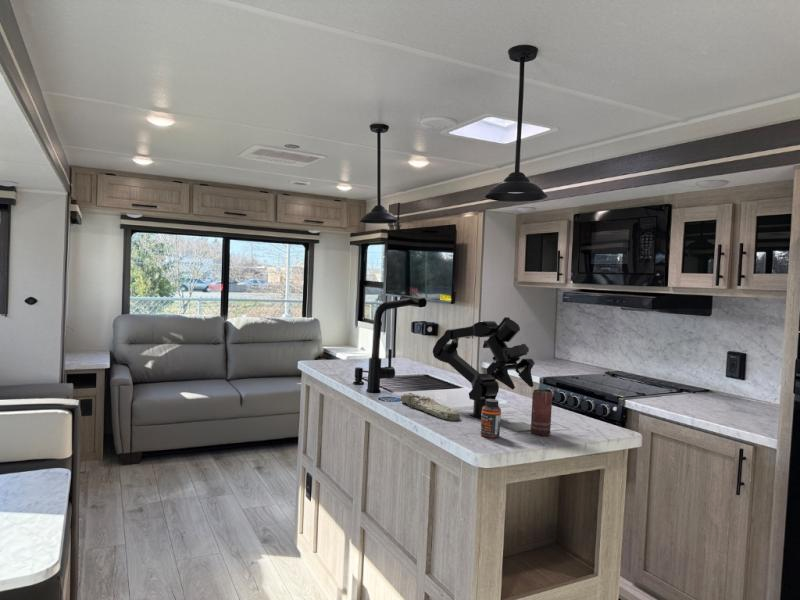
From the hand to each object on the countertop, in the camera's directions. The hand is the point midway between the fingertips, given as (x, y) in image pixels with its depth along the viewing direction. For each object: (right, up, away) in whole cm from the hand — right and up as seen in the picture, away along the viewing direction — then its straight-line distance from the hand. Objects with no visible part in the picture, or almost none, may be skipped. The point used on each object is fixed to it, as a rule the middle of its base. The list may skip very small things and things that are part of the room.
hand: (523, 387), depth 190 cm
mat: (-1, -14, +2) cm, 14 cm away
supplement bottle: (-13, -14, -11) cm, 22 cm away
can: (+4, -14, -6) cm, 16 cm away
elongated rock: (-30, -12, +22) cm, 39 cm away
